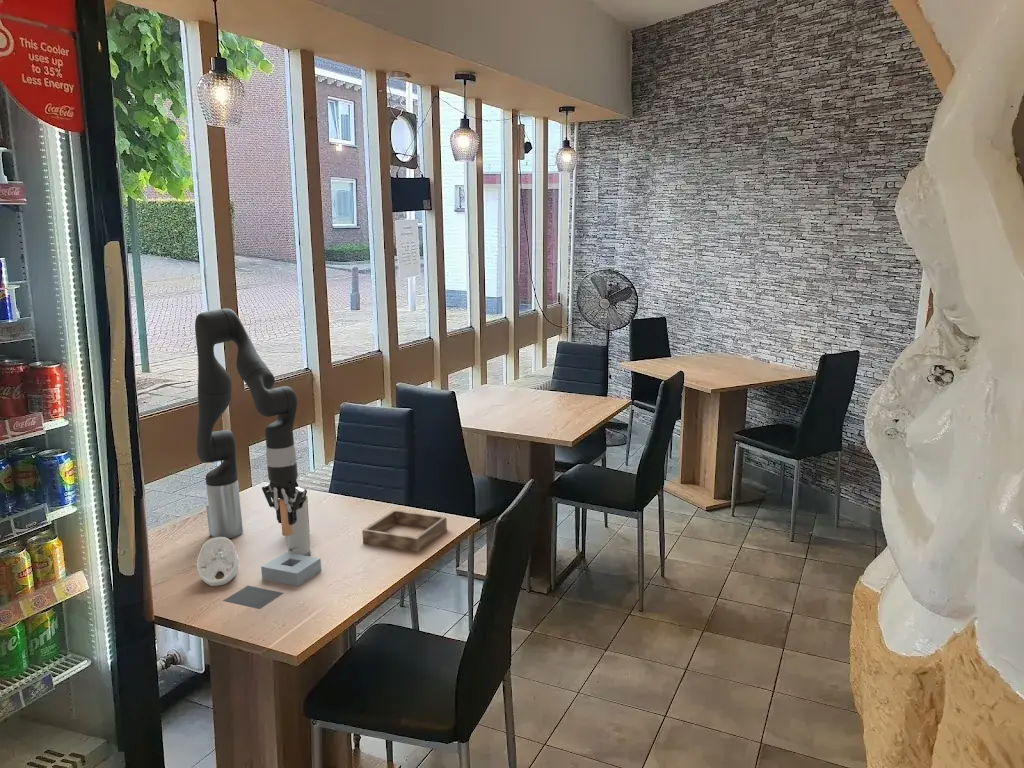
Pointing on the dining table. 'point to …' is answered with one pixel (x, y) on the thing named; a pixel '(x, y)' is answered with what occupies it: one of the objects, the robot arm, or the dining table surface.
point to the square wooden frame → (378, 537)
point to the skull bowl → (217, 561)
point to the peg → (285, 519)
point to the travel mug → (300, 533)
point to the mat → (253, 597)
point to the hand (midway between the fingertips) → (287, 522)
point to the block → (291, 569)
